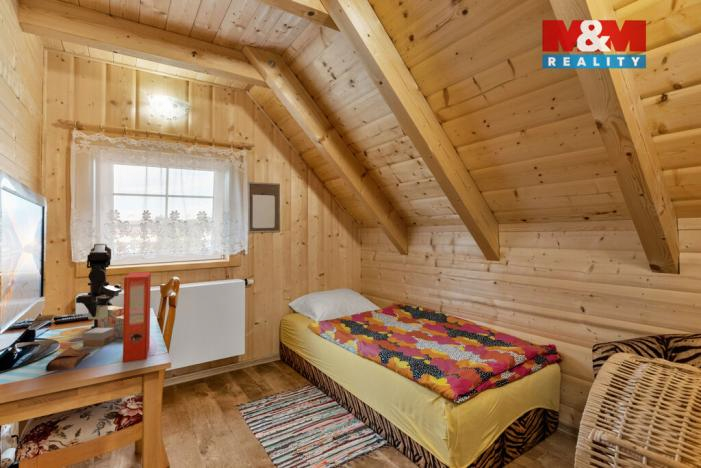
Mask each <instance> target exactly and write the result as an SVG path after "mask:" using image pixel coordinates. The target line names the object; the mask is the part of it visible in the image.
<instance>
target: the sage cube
mask: <svg viewBox="0 0 701 468" xmlns="http://www.w3.org/2000/svg"><path fill="white" fill-rule="evenodd" d="M87 316H88V317H87V318H88V320H94V319H102V318H105V317H108V305H97V308H96V316H95V317H92V316H91V314H90V312H89V311H88V310H87Z"/></svg>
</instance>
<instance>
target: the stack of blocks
mask: <svg viewBox="0 0 701 468" xmlns="http://www.w3.org/2000/svg"><path fill="white" fill-rule="evenodd" d="M123 319H124V306H116V305H113V306H108V317H105V318H102V319H98V328H114V338H119V339H123Z"/></svg>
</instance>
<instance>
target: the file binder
mask: <svg viewBox="0 0 701 468" xmlns="http://www.w3.org/2000/svg"><path fill="white" fill-rule="evenodd" d="M151 275H152V272H150V271H147V272H145V271H144V272H143V271H141V272H140V271H139V272H129V273H128V274H127V275H125V276H124V278H123V308H124V319H123V338H122V362H123V363H129V362H130V363H131V362H136V361H137V362H138V361H145V360H147V358H148V354H149V349H150V341H151V340H150V339H151V338H150V335H151V327H150V326H151V284H152V283H151V279H152V278H151V277H152V276H151Z"/></svg>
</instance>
